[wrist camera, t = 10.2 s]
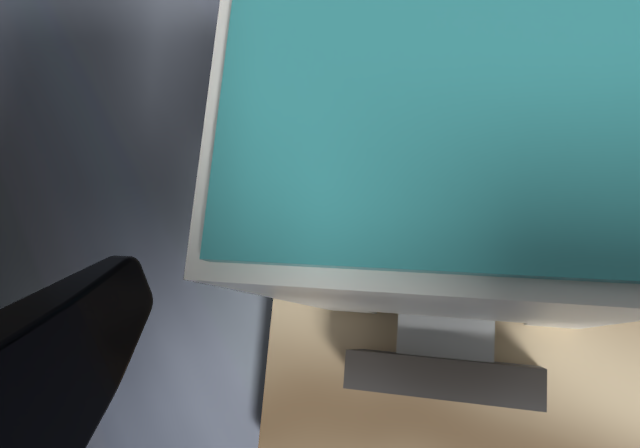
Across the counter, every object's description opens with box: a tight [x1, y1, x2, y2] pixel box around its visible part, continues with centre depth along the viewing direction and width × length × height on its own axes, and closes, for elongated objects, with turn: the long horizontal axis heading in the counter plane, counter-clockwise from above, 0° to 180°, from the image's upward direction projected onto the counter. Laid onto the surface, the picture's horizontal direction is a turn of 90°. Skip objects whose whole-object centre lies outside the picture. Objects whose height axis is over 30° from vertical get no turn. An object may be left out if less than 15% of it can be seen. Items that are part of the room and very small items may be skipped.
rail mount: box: [258, 298, 640, 448], centre depth 16 cm, size 14×11×3 cm
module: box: [183, 0, 640, 329], centre depth 12 cm, size 5×7×9 cm
